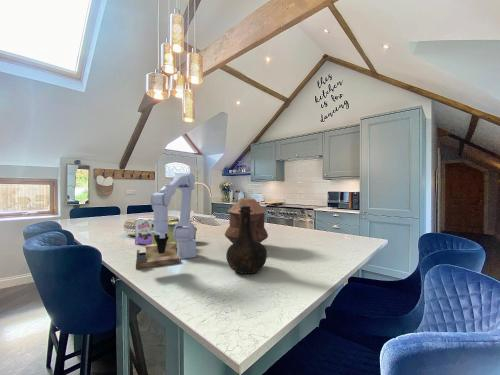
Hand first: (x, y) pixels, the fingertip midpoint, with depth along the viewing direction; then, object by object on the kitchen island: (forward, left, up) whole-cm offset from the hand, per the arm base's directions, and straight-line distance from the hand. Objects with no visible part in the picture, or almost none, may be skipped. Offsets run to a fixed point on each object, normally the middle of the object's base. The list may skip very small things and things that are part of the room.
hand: (161, 252), depth 101 cm
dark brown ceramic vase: (-34, +14, -9) cm, 38 cm away
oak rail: (0, 0, -2) cm, 2 cm away
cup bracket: (+7, -13, -6) cm, 16 cm away
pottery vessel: (-49, -19, -9) cm, 53 cm away
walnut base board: (+1, -13, -9) cm, 16 cm away
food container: (-23, -49, -9) cm, 55 cm away
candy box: (+4, -61, -9) cm, 62 cm away
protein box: (-7, -41, -9) cm, 43 cm away
